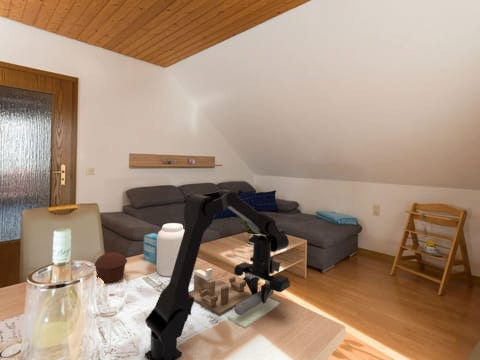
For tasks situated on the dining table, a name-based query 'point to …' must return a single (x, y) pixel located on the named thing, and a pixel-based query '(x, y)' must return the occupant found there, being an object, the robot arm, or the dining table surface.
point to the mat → (253, 313)
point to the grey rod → (250, 303)
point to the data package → (150, 248)
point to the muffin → (110, 267)
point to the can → (168, 247)
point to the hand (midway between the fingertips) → (259, 301)
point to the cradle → (218, 294)
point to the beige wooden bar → (204, 274)
